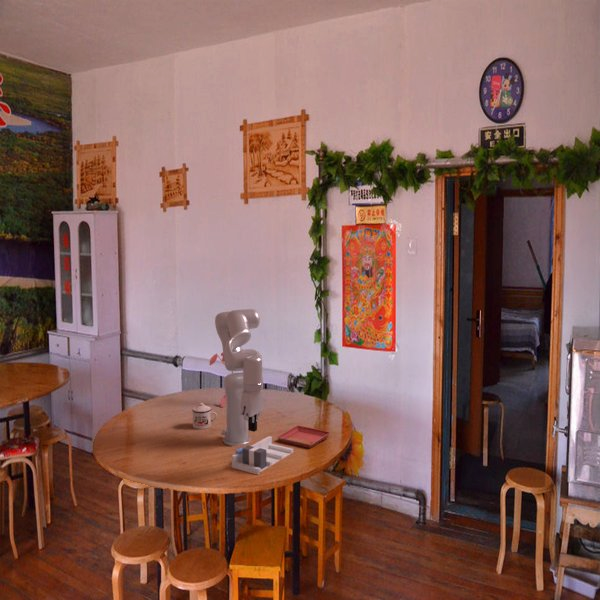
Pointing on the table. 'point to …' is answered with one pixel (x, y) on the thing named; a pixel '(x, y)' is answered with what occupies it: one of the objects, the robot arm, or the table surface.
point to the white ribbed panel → (272, 455)
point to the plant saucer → (303, 436)
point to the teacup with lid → (202, 416)
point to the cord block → (254, 456)
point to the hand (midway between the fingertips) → (252, 430)
